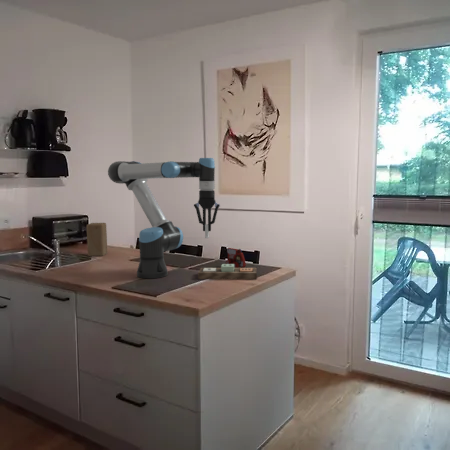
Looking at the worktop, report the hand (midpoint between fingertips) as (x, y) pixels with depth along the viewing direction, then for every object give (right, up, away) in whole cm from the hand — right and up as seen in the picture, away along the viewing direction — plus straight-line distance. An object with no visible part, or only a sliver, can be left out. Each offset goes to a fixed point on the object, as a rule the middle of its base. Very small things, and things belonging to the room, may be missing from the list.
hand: (206, 237), depth 222 cm
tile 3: (+19, -19, -2) cm, 27 cm away
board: (+10, -19, -1) cm, 22 cm away
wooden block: (-71, -13, +62) cm, 96 cm away
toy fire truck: (+15, -17, +18) cm, 29 cm away
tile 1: (+1, -19, -1) cm, 19 cm away
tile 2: (+10, -17, -2) cm, 20 cm away
